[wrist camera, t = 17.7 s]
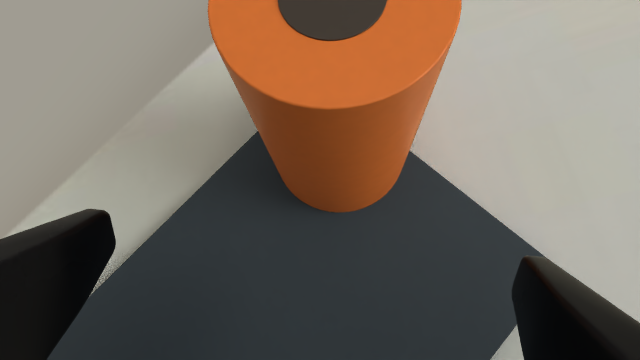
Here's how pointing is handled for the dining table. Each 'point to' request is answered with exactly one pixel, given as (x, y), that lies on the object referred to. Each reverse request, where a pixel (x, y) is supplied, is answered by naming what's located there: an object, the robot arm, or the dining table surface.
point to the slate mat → (308, 276)
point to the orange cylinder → (335, 86)
